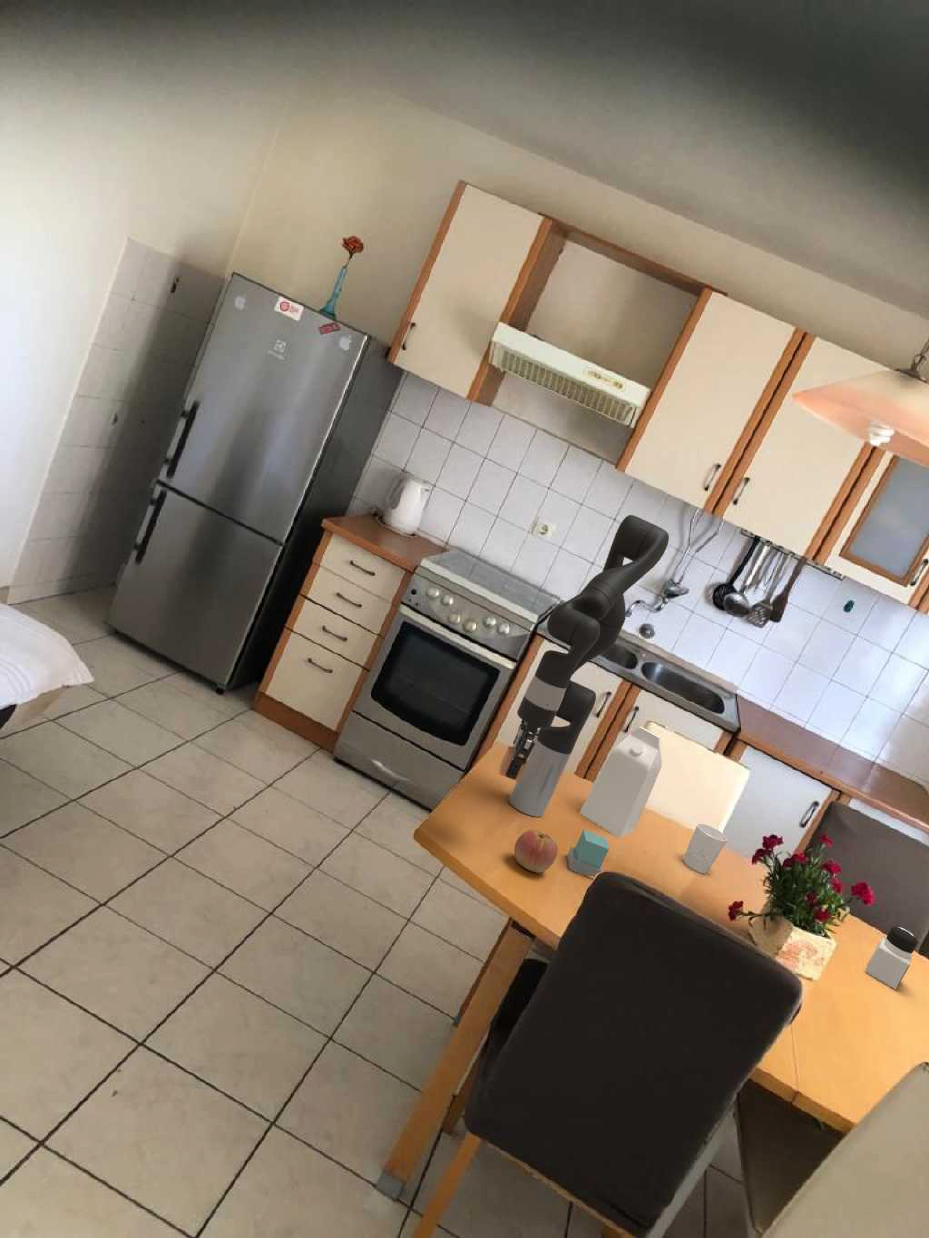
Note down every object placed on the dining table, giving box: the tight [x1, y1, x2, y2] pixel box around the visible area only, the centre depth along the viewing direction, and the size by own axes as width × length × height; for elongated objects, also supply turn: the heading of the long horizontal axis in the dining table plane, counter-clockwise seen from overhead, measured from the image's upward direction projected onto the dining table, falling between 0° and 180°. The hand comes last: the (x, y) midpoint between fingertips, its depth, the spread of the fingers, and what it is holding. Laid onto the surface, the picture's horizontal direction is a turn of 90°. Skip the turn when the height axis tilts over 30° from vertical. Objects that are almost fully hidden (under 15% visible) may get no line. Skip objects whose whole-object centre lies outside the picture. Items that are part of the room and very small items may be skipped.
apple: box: [513, 829, 559, 874], centre depth 202 cm, size 9×9×8 cm
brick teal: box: [574, 829, 610, 869], centre depth 211 cm, size 6×6×5 cm
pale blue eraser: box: [566, 845, 604, 877], centre depth 212 cm, size 7×7×2 cm
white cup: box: [682, 822, 728, 875], centre depth 239 cm, size 8×8×10 cm
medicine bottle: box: [865, 926, 919, 991], centre depth 219 cm, size 7×7×12 cm
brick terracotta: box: [498, 745, 529, 782], centre depth 200 cm, size 4×4×5 cm
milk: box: [578, 726, 663, 839], centre depth 243 cm, size 12×12×26 cm
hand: (510, 772), depth 201 cm, fingers closed on brick terracotta, 4 cm apart
